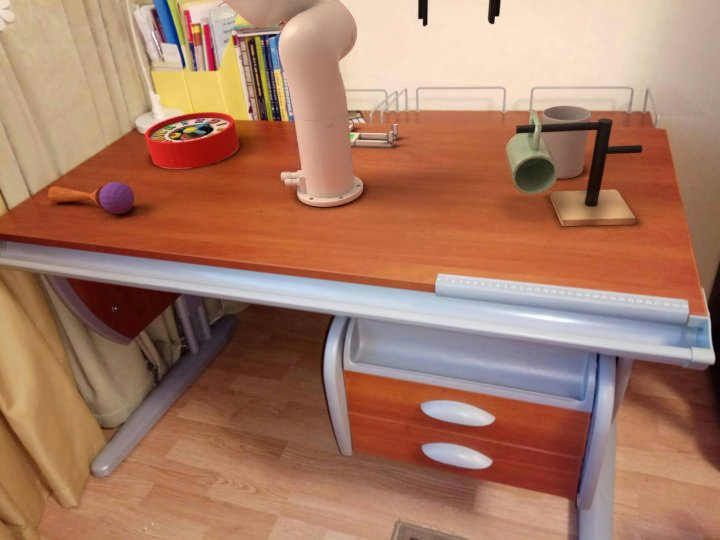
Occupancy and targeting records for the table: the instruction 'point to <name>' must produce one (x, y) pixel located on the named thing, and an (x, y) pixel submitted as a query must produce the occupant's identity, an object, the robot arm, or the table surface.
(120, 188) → the purple maraca
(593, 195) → the mug holder
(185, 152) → the toy clock
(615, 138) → the table surface
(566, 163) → the mug
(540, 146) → the small mug
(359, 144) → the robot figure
